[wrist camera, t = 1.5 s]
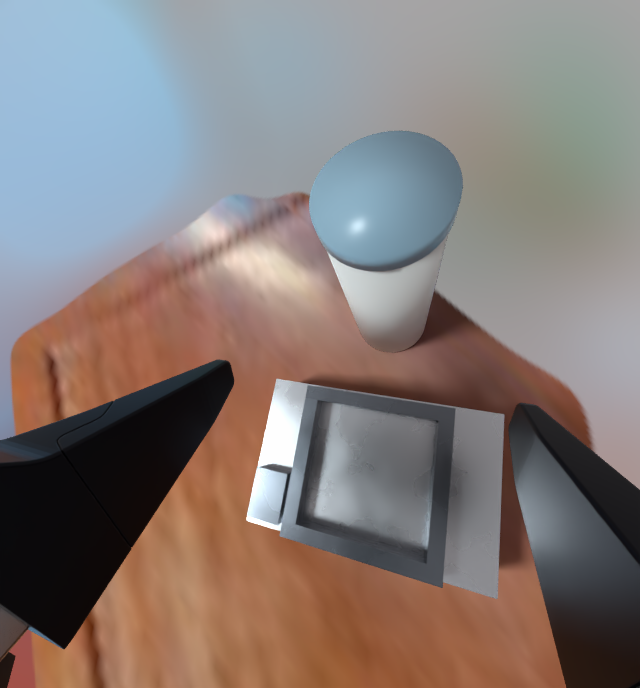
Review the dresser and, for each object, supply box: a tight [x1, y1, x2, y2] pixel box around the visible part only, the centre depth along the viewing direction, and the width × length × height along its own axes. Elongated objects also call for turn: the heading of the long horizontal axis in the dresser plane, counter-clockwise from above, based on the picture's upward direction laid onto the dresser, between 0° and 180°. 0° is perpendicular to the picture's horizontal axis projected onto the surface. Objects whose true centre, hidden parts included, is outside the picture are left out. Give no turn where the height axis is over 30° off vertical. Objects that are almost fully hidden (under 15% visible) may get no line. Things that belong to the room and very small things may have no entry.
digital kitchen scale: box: [247, 379, 504, 599], centre depth 19 cm, size 9×14×4 cm, turn 80°
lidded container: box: [309, 131, 463, 352], centre depth 17 cm, size 5×5×13 cm
